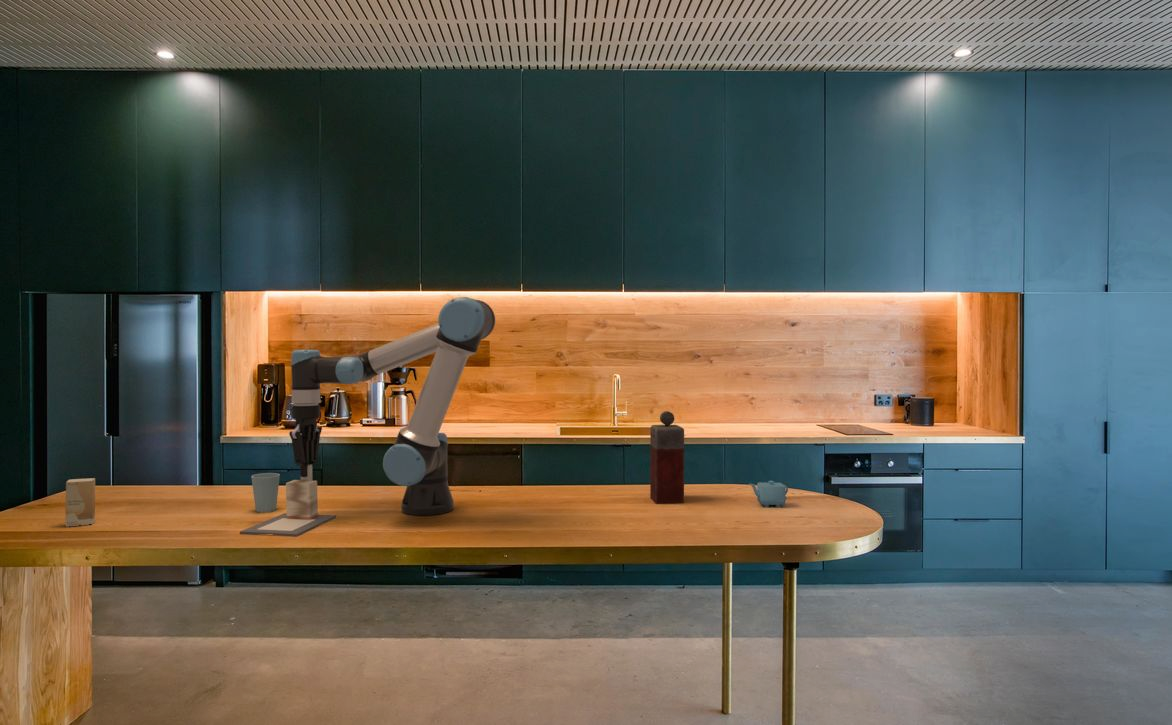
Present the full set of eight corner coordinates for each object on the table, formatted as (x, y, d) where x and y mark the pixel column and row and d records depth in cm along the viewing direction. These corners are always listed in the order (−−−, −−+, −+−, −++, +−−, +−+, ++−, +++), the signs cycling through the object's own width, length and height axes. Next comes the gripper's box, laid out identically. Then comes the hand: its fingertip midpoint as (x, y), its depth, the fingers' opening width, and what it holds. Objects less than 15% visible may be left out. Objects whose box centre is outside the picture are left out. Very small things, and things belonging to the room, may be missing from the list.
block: (317, 516, 201) (317, 480, 201) (310, 519, 197) (309, 483, 197) (294, 515, 202) (294, 480, 202) (286, 518, 198) (285, 483, 198)
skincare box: (65, 527, 191) (64, 482, 191) (68, 523, 195) (67, 479, 195) (94, 524, 194) (93, 480, 194) (96, 521, 198) (95, 477, 198)
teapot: (750, 507, 215) (750, 482, 214) (746, 503, 221) (746, 478, 220) (790, 508, 214) (790, 483, 214) (785, 503, 220) (785, 479, 220)
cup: (280, 511, 209) (279, 476, 209) (251, 514, 206) (251, 478, 206) (280, 506, 216) (279, 472, 216) (252, 508, 213) (251, 474, 213)
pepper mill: (676, 495, 231) (676, 409, 231) (684, 503, 220) (684, 412, 219) (648, 496, 230) (648, 409, 230) (655, 503, 219) (655, 412, 219)
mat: (336, 517, 202) (336, 515, 202) (296, 536, 183) (296, 533, 183) (284, 515, 205) (284, 513, 205) (239, 533, 185) (239, 531, 185)
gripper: (306, 402, 208) (307, 482, 209) (280, 406, 196) (280, 491, 196) (330, 402, 207) (330, 483, 208) (305, 406, 194) (305, 493, 195)
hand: (306, 487), depth 202 cm, fingers closed
